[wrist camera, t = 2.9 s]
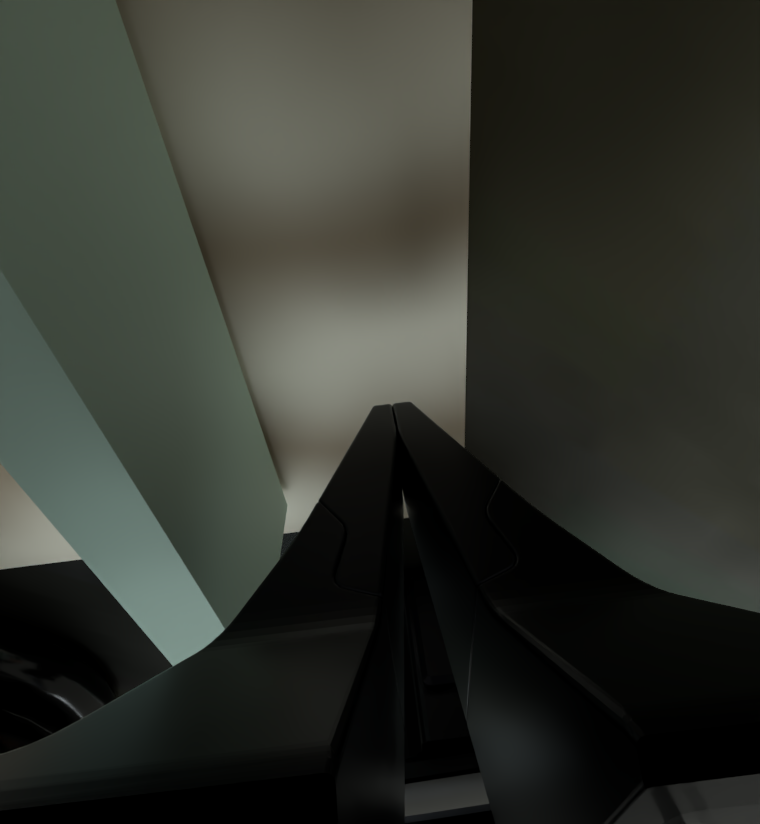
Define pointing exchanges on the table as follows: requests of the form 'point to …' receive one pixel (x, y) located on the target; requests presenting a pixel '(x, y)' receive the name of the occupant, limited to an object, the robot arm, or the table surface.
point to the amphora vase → (43, 689)
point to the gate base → (313, 215)
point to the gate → (120, 339)
